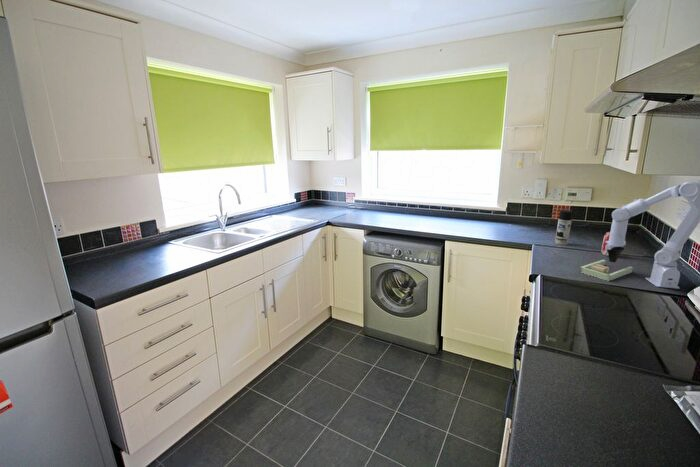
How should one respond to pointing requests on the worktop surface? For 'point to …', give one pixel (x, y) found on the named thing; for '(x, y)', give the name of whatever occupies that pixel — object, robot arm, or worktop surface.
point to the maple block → (600, 268)
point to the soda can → (606, 238)
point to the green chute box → (608, 277)
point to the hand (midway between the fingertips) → (612, 261)
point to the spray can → (563, 227)
